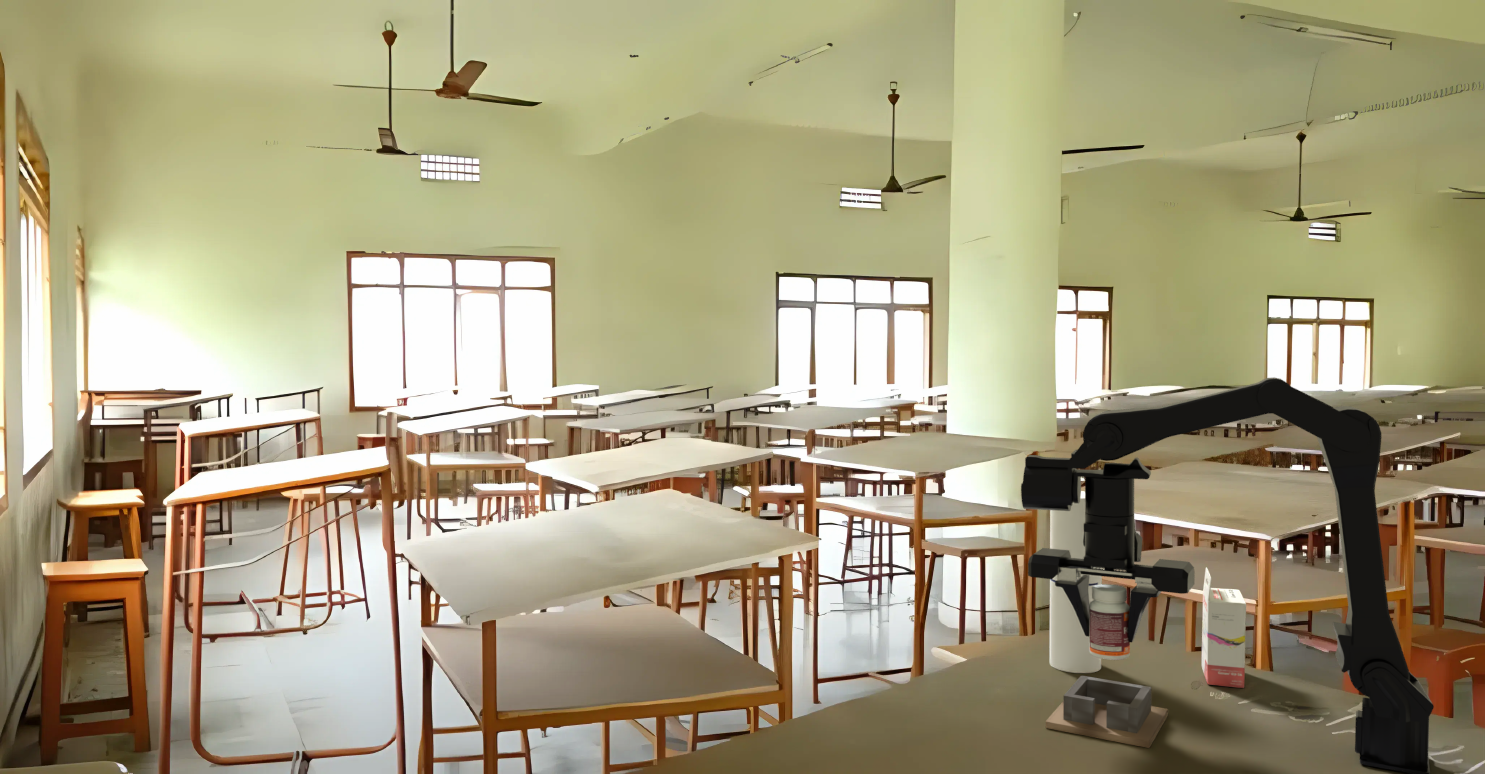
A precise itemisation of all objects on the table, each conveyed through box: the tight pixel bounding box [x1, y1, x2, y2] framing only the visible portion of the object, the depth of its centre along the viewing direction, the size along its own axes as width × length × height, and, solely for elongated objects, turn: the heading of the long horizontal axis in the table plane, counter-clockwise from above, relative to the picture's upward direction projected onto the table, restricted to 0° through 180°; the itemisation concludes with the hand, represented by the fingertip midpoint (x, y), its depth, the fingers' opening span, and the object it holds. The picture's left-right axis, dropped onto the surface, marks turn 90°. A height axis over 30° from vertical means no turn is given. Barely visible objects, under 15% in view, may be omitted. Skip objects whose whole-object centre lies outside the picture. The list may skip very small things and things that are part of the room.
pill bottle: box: [1089, 583, 1131, 661], centre depth 126 cm, size 5×5×8 cm
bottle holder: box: [1045, 675, 1169, 749], centre depth 126 cm, size 12×12×4 cm
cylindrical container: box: [1049, 490, 1103, 674], centre depth 148 cm, size 7×7×25 cm
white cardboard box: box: [1201, 566, 1247, 689], centre depth 142 cm, size 9×5×15 cm, turn 161°
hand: (1109, 638), depth 126 cm, fingers closed on pill bottle, 5 cm apart
